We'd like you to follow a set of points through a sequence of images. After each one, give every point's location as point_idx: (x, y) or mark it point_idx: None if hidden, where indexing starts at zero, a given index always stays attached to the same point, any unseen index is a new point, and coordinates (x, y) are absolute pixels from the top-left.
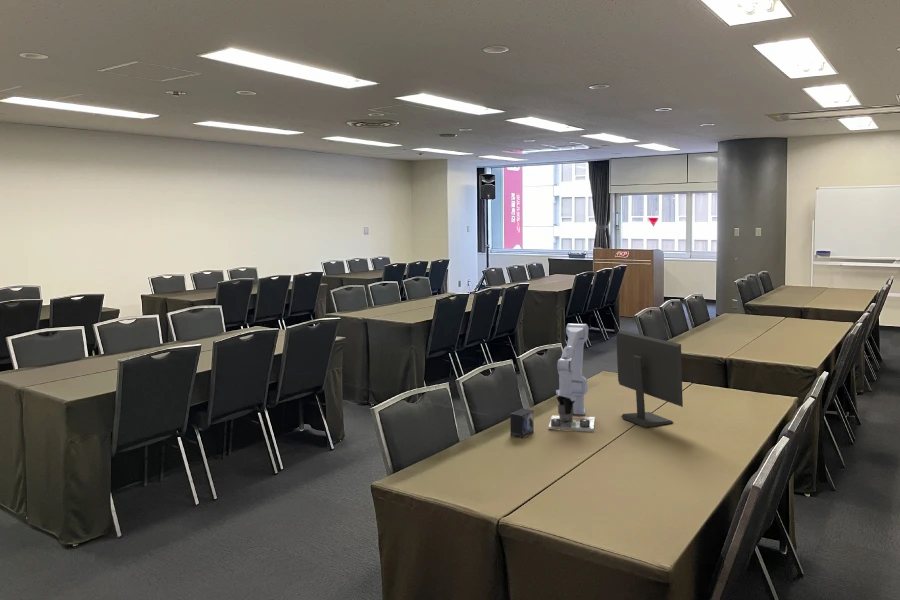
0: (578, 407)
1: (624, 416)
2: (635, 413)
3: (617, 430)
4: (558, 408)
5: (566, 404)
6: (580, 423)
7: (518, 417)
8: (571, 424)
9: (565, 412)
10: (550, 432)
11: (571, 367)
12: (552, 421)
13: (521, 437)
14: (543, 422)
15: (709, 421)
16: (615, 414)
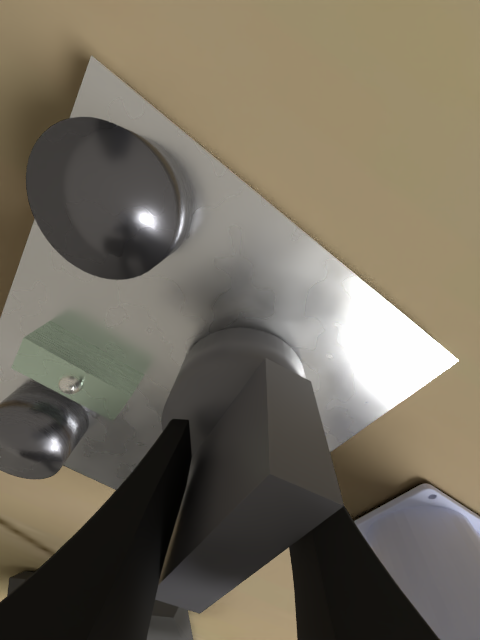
0: (391, 572)
1: (159, 602)
2: (172, 634)
3: (2, 496)
4: (264, 420)
5: (24, 587)
6: (23, 399)
7: None
8: (36, 331)
9: (217, 434)
10: (7, 31)
11: None
12: (65, 122)
13: None
14: (401, 188)
15: None
16: (250, 595)
